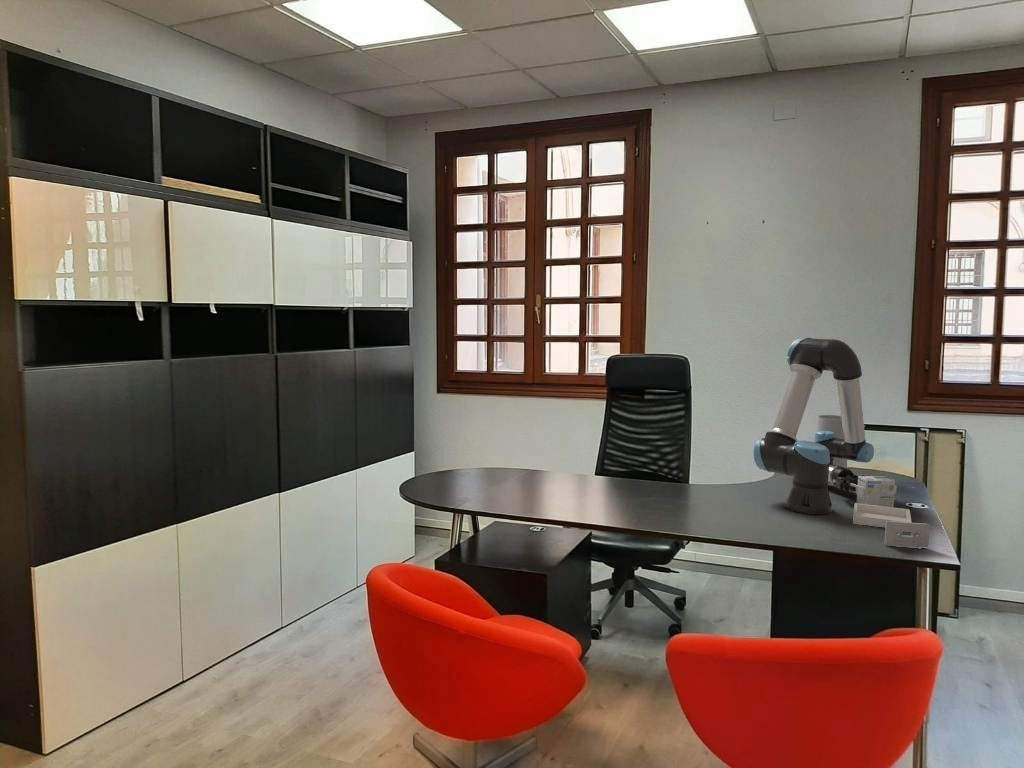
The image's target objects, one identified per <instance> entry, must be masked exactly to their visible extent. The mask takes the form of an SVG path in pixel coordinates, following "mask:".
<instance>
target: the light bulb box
mask: <svg viewBox="0 0 1024 768" xmlns="http://www.w3.org/2000/svg"><path fill="white" fill-rule="evenodd" d="M857 476H858V486H861V487H864V488H865V489H864V495H860V494H857V493H856V503H860V504H868V505H877V506H885V507H893V508H895V507H894V505H895V494H896V493H895V485H896V479H893V478H891V477H889V476H887V475H885V476H884V475H880V476H879V475H877V476H874V475H869V476H867V475H864V476H862V475H861V476H860V475H857Z"/></svg>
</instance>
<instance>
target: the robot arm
mask: <svg viewBox="0 0 1024 768" xmlns="http://www.w3.org/2000/svg"><path fill="white" fill-rule="evenodd" d="M786 355H787V357H786V361H787V364H788V366H789V367H788V368H789V370H790V372H791V374H790V378H789V380H788V383H787V386H786V389H785V391H784V394H783V397H782V400H781V402H780V403H781V404H780V406H779V409H778V411H777V414H776V417H775V419H774V423H773V426H772V429H770V430H767V431H766V433H765V436H764V437H761V438H758V439H757V440H756V441H755V443H754V446H753V453H752V454H753V461H754V463H755V465H756V466H757V468H758V469H759V470H763V471H766V472H767V473H768V472H769V473H774V474H780V475H784V476H787V477H788V476H789V477H792V484H791V485H792V486H791V487H790V490H789V493H788V495H787V498H786V500H785V507H786V508H787V509H788V510H790V511H792V512H795V513H799V514H806V515H827V514H831V513H832V511H833V505H832V500H831V497H830V493H829V490H828V488H829V484H831V486H833V487H834V486H836V487H837V489H838V490H841V491H843V490H844V492H845V493H849V492H851V493H852V492H853V493H855V494H856V495H857V494H860V495H864V489H865V488H864V487H861V486H858V476H859V475H856V474H854V472H853V471H852V470H851V469H849V468H848V467H847V468H843V467H841V466H838V465H834V464H833V460H834V457H836V458H842V459H847V461H852V462H853V461H854V462H857V463H870V462H871V461H872V460H873V458H874V454H875V448H874V446H873V444H872V443H869V442H867V440H866V433H865V432H866V431H865V422H864V421H865V420H864V411H863V402H862V392H861V382H860V378H862V375H863V371H862V365H861V363H860V360H859V358H858V356H857V354H856V352H855V351H854V350H853V349H852V347H850V346H849V345H848V344H847V343H846V342H844V341H842V340H839V339H835V338H834V339H832V338H831V339H830V338H812V337H801V338H798V339H795V340H794V341H793V342H792V343H791V344H790V346H789V347H788V350H787V353H786ZM823 371H827V372H828V371H829V372H831V373H832V376H833V379H834V380H835V381H836V384H837V391H838V393H837V394H838V398H839V399H838V402H839V408H840V409H839V410H840V416H841V419H842V427H843V435H844V439H839V438H836V436H835V433H834V432H831V431H817V430H816V432H815V433H814V439H813V441H809V440H808V441H807V440H798V439H797V435H798V431H799V428H800V426H801V422H802V419H803V416H804V413H805V411H806V408H807V405H808V402H809V399H810V396H811V393H812V391H813V388H814V385H815V381H816V380H818V379H820V378H821V377H822V375H823ZM861 476H865V475H863V474H862V475H861ZM897 488H898V486H897V484H895V493H894V494H897Z"/></svg>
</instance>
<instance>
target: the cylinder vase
mask: <svg viewBox="0 0 1024 768" xmlns="http://www.w3.org/2000/svg"><path fill="white" fill-rule="evenodd" d="M817 431H831V432H834V433H835V436H836V438H839V439H844V435H843V427H842V419H841V415H835V414H819V415H817V419H816V432H817ZM833 464H834V465H838V466H841V467H843V468H847V469H848V460H847V459H842V458H836V457H834V460H833Z"/></svg>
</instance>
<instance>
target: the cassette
mask: <svg viewBox="0 0 1024 768" xmlns="http://www.w3.org/2000/svg"><path fill="white" fill-rule="evenodd" d="M930 525H931V524H929V523H921V522H912V523H910V522H896V521H886V527H885V528H884V529H885V531H884V540H883V541H884V543H883V544H893V545H902V546H915V547H928V548H929V543H930V530H931V526H930ZM903 533H910V534H911V535H906V534H905V535H903Z"/></svg>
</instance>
